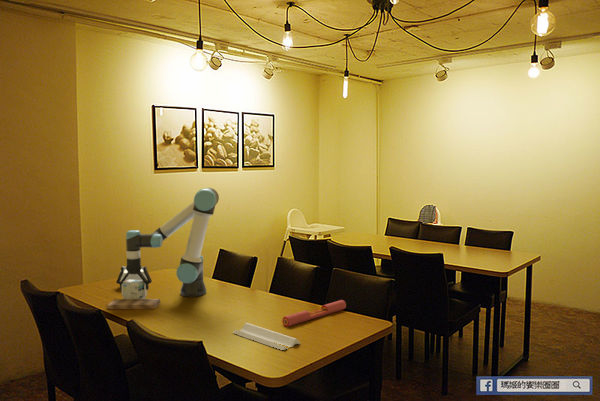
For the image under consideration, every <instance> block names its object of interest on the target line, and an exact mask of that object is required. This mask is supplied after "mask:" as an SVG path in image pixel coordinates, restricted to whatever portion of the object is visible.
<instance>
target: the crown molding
mask: <svg viewBox="0 0 600 401" xmlns="http://www.w3.org/2000/svg"><path fill="white" fill-rule="evenodd" d="M232 334H235V335H236V334H237V336H240V337H243V338H245V339H248V340H251V341H253V340H254V342H256V343H259V344H262V345H265V346H268V347H271V348H273V347H274V349H276V348H277V349H276V350H279V349H280V351H282V350H284V351H285V350H286V349H287V350H289V349H288V348H286V347H285V346H288V347H292V348H293V347H294V346H295V345H297V344H298V345H301V344H300V343H301V341H300V340H298V339H297V338H295V337H292V336H289V335H285V334H283V333H280V332H277V331H273V330H271V329H267V328H264V327H261V326H258V325H255V324H252V323H250V322H245V323H244V325H243V326H242V328H241V329H240V330H238V329H234V330H233V332H232ZM274 342H275V343H274ZM276 343H277V344H276ZM279 344H281V345H279ZM282 345H285V346H282Z"/></svg>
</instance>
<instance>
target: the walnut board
mask: <svg viewBox="0 0 600 401" xmlns="http://www.w3.org/2000/svg"><path fill="white" fill-rule="evenodd" d="M160 304H161V299H160V298H146V299H123V298H122V299H121V298H117V299H116V298H115V299H113V300H112V301H111V302H109V303H108V304H107V310H124V309H125V310H151V309H152V310H156V309H157V307H158V306H159V305H160Z"/></svg>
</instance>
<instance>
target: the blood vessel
mask: <svg viewBox="0 0 600 401" xmlns="http://www.w3.org/2000/svg"><path fill="white" fill-rule="evenodd" d="M346 308H347V303H346V301H345V300H343V299H339V300H337V301H333V302H330V303H326V304H323V305H321V308H319V309H318V310H315V311H311V312H309V311H308V310H302V311H300V312H299V311H298V312H296V313H292V314H289V315H285V316H283V318H281V319H282V320H281V321H282V322H281V323H282V324H283V326H284V327H286V328H287V327H288V328H289V327H292V326H294V325H297V324H302V323H304V322H307V321H310V320H315V319H317V318H320V317H323V316H325V315H329V314H334V313H336V312H339V311H342V310H345V309H346Z"/></svg>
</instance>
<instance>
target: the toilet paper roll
mask: <svg viewBox="0 0 600 401" xmlns="http://www.w3.org/2000/svg"><path fill="white" fill-rule="evenodd" d="M140 271H141V272H142V274H143V275H144V277H145V278H146V276H145V273H144V271H143V270H142V269H141V270H140ZM120 272H121V270H120V271H119V273H120ZM127 272H128V271H127V270H126V269H125V270H124V273H123V275H122V277H121V280H122V279H123V278H124V276H125V275H126V274H127ZM130 279H131V280H142V279H141V278H140V276H139V275H138V274H129V275H128V277H127V278H126V280H125V281H127V280H130ZM146 279H147V278H146ZM121 280H120V281H121ZM142 281H143V280H142Z"/></svg>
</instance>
